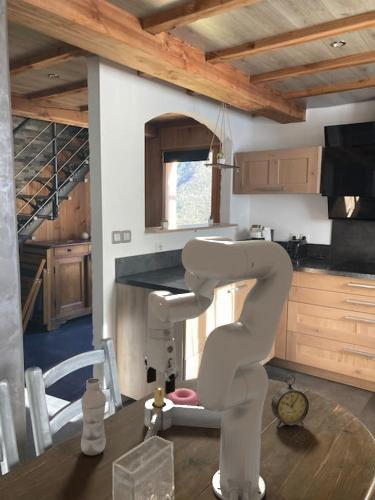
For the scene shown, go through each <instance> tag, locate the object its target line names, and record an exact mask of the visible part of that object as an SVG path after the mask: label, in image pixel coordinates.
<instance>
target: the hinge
mask: <svg viewBox="0 0 375 500" xmlns="http://www.w3.org/2000/svg"><path fill="white" fill-rule="evenodd" d="M221 417H222V412H219V413H212V412H209V411H207V410H205V409H204V408H203V407H202V406H198V405H197V406H184V405H173V402H171V401H170V400H168V399H167V397H164V407H163V408H155V407H154V398H151V399H148V400H147V401H145V403H144V426H145V427H146V428H148V430H147V431H146V435H145V437H144V439H143V442H144V441H146V440H147V439H149V438H150V437H152V436H155V435H156V436H157V435H158V432H159V430H160V431H165V430H167V429H169V428H171V427H172V426H182V427H183V426H184V427H194V428H195V427H197V428H206V429H207V428H209V429H220V430H221Z"/></svg>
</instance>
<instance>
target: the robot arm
mask: <svg viewBox="0 0 375 500" xmlns="http://www.w3.org/2000/svg"><path fill="white" fill-rule="evenodd" d="M181 263H182V266H183V267H184V269H185V273H184V281H185V284H186V286H187V287H188V288H189V290H191V292H188V293H187V292H186V293H181V294H180V293H179V294H174V295H173V293H172V292H171V291H168V290H155V291H151V292H150V293H148V297H147V341H146V352H143V354H142V355H143V358H144V359H143V360H144V364H145V371H146V383H147V384H151V383H155V382H156V381H157V371H158V372H161V373H162V374H164V376H165V379H166V380H165V383H164V384H165V385H164V386H165V387H164V394H166V395H168V394H170V393H172V392H175V389H176V380H177V378H178V377H179V373H180V367H179V366H178V361H177V359H178V357H177V347H176V342H175V338H174V323H177V322H181V321H187V320H188V321H189V320H193V319H196V318H199V317H200V316H202V315H203V314H204V313H205V312H206V311H207V310H208V309H209V308H210V307H211V306H212V304H213V302H214V300H215V288H216V286H217V285H218V284H219V283H220V282H223V283H225V282H226V283H227V282H228V283H231V282H233V283H234V282H241V281H243V282H244V281H248V280H249V281H250V280H256V281H255V284H254V285H253V286H252V287H251V288H250V289H249V291H248V293H247V294H246V296H245V299H244V301H243V304H242V309H241V311H240V312H241V313H240V314H239V317H238V319H237V320H236V321H234V322H232V323H226V324H223V325H222V324H221V325H219V326H217V327H215V328H214V329H212V330H211V332H210V333H209V334H208V336H207V337H206V340H205V342H204V346H203V350H202V355H201V359H200V364H199V368H198V374H197V376H196V377H197V378H196V393H197V397H198V400H199V401H198V403H199V404H200V405H201V406H200V407H203V408H204V409H205V410H207V411H209V412H212V413H219V412H222V417H221V429H220V437H219V440H220V441H219V446H220V447H219V467H218V469H219V470H218V471H217V472H215V474H214V475H213V478H212V484H211V485H212V489H213V492H214V493H215V495H216V496H217V497H218V498H220V499H221V500H262V499H263V497H264V496H265V493H266V483H265V481H264V479H263V478H262V477H261V475H260V466H261V465H260V462H261V444H262V442H261V441H262V429H263V428H262V427H263V413H264V405H265V403H266V397H267V394H268V388H269V376H268V373H267V370H266V369H265V367H264V366H263V364H262V363H261V362H262V361H264V360H265V359H267V358H268V357H269V356H270V354H271V352H272V350H273V346H274V342H275V340H276V336H277V332H278V329H279V325H280V323H281V318H282V314H283V310H284V308H285V305H286V302H287V299H288V297H289V294H290V291H291V288H292V285H293V281H294V280H293V278H294V268H293V263H292V259H291V257H290V255H289V253H288V252H287V250H286V249H285V248H284V247H283V246H282V245H280V244H279V243H277V242H275V241H272V240H265V239H254V240H252V239H251V240H237V241H236V240H234V239H231V238H230V237H227V236H198V237H194V238H191V239H190V240H188V241H187V242H186V243H185V244H184V246H183V249H182V251H181ZM169 373H170V375H169Z"/></svg>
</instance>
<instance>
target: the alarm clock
mask: <svg viewBox="0 0 375 500" xmlns="http://www.w3.org/2000/svg"><path fill="white" fill-rule="evenodd" d="M291 376H292V377H293V382H292V383H291V382H289V383H288V382H287V380H288V378H289V377H291ZM295 381H296V376H295V375H293V374H289V375H287V376H286V377H285V383H286V385H287V386H284V387H281V388H280V389H278V390H277V391H276V392H274V395H273V397H272V399H271V411H272V414H273V415H274V417H276V418H277V419H278V421H279V422H278V423H277V426H276V428H277V429H278V428H279V426H281V424H283V425H286V426H291V427H292V426H296V425H298V424H300V423H301V425H304V422H303V421H304V420H305V419H306V417H307V415H308V413H309V410H310V409H309V408H310V401H309V399H308V398H307V396H306V394H305V393H304V392H302V391H301V390H299V388H297V387H294V386H292V385H294V384H295Z"/></svg>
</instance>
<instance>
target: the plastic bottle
mask: <svg viewBox="0 0 375 500" xmlns="http://www.w3.org/2000/svg"><path fill="white" fill-rule="evenodd" d="M101 382H102V381H101V379H100V378H98V377H97V378H96V377H95V378H89V379H87V380H86V382H85V383H86V386H85V389H86V391H84V393H83V396H82V397H81V399H80V401H81V402H80V404H81V411H82V422H83V427H82V435H81V440H80V447H81V451H82V453H83V454H84V455H86V456H96V455H99V454H101V453H102V452H103V451H104V449H105V447H106V444H107V440H106V439H107V437H106V434H105V424H104V419H105V409H106V404H107V398H106V394H105V393H104V391H102V389H101V388H102V384H101Z"/></svg>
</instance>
